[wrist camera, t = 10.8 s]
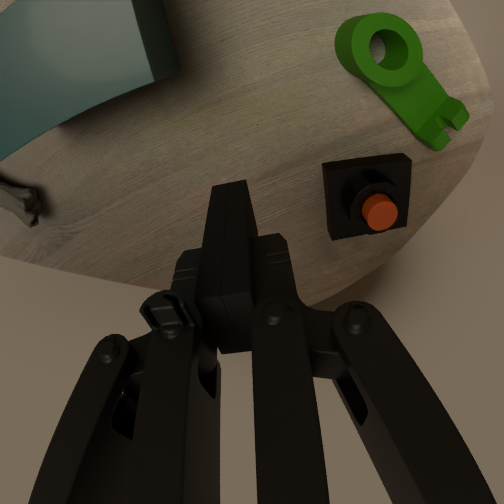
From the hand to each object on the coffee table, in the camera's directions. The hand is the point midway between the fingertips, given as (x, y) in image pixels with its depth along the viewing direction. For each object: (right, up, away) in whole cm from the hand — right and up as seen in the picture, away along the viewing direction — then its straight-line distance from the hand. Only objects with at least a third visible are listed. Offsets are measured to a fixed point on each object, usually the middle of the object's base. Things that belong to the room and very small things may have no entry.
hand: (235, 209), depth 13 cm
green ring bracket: (+15, +16, +10) cm, 25 cm away
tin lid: (-15, +13, 0) cm, 20 cm away
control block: (+14, +5, +19) cm, 24 cm away
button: (+14, +3, +16) cm, 22 cm away
